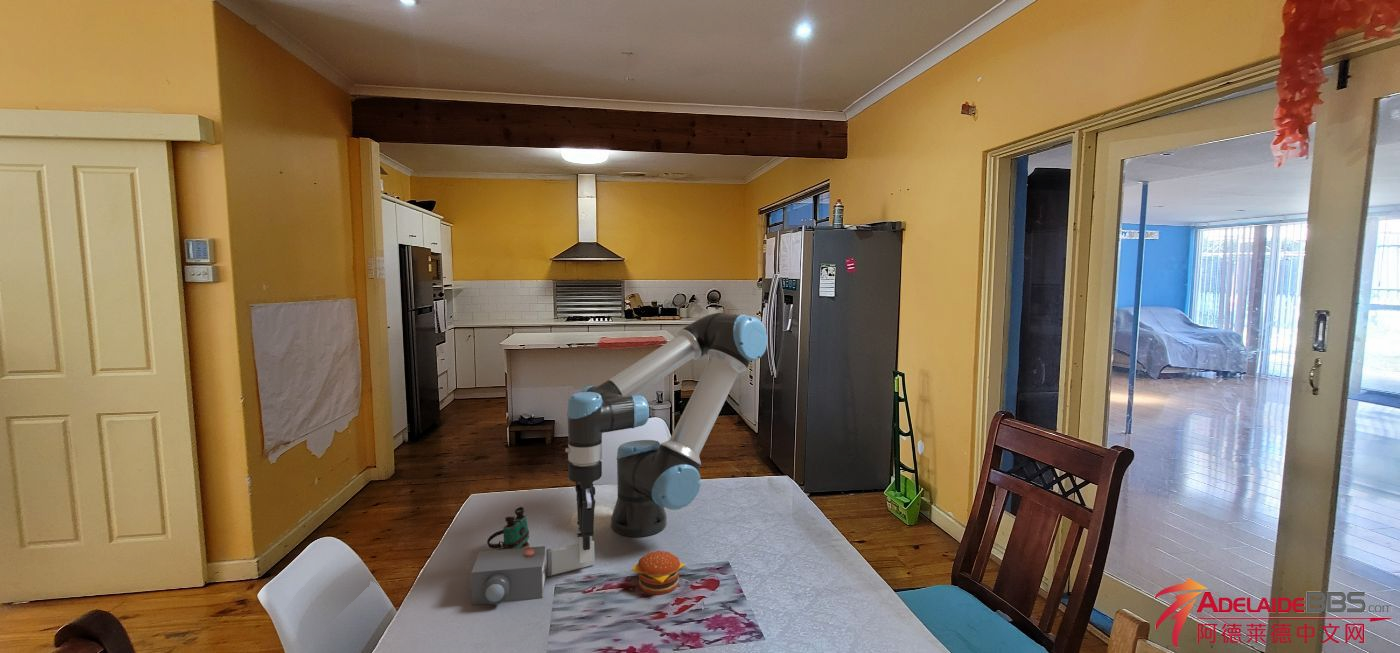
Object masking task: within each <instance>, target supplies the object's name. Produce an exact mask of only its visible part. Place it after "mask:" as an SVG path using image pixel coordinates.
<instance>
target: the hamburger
mask: <svg viewBox="0 0 1400 653" xmlns="http://www.w3.org/2000/svg"><path fill="white" fill-rule="evenodd" d="M686 566H687V565H686V564H685V563H682V562H681V561H680V559H679V557H678V556H676V555H675V554H673V553H671V552H670V551H664V550H663V551H662V550H655V551H650V552H648V553H646V554H644V555H643V556H642V557H640V559H638V563H636V564H635V565H634V566H633V567H632V569H631V570H630V571H632V572H634V573H635V572H636V573H637V575H638V582H637V583H638V586H639V588H640V589H641V591H643V592H644V593H647V594H651V595H665V594H669V593H671V592H673V591H675V590H676V589H677V587H679V585H680V577H679V575H680V569H681V568H683V567H686Z"/></svg>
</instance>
